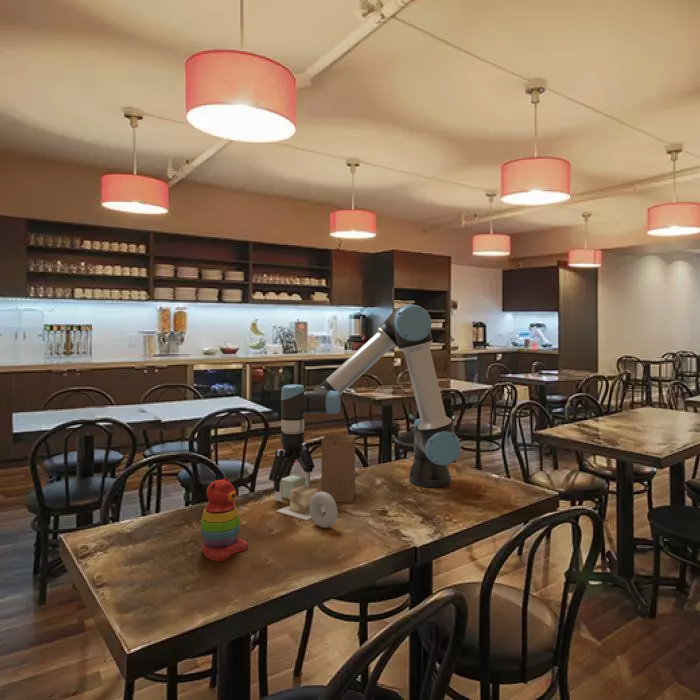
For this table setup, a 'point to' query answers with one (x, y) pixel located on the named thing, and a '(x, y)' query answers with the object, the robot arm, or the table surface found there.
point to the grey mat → (297, 513)
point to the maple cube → (301, 499)
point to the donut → (329, 506)
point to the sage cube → (292, 484)
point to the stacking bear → (221, 522)
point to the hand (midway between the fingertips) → (292, 495)
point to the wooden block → (338, 467)
